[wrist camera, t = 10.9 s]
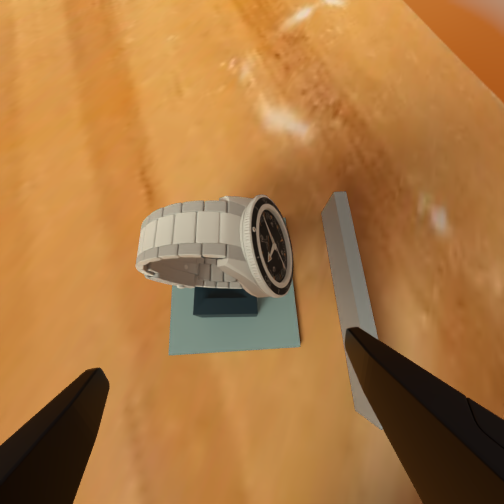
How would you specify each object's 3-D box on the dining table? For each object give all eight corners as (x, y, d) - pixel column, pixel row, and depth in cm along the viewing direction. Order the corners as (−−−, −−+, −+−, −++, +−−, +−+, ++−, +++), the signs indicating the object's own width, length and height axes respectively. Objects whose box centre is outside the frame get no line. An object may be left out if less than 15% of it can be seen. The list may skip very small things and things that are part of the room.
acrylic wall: (368, 409, 17) (397, 428, 14) (355, 410, 17) (380, 429, 14) (331, 212, 22) (345, 191, 19) (321, 213, 22) (333, 192, 19)
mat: (299, 346, 18) (300, 347, 18) (170, 354, 18) (168, 355, 18) (284, 219, 22) (285, 217, 21) (176, 225, 22) (175, 223, 21)
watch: (281, 316, 19) (319, 296, 8) (179, 318, 19) (89, 300, 8) (277, 249, 20) (305, 164, 10) (184, 251, 20) (116, 166, 10)
